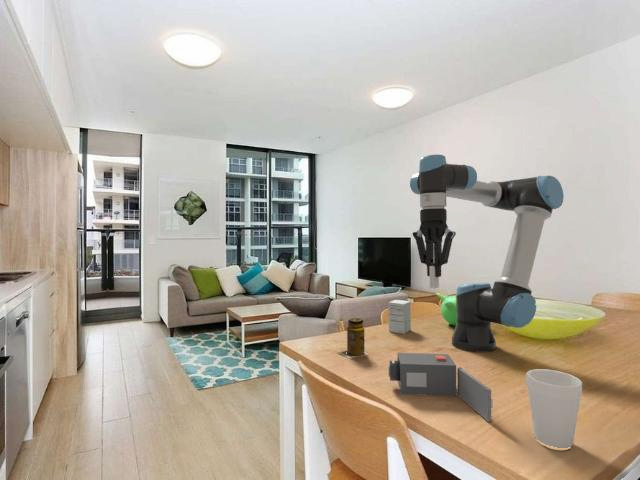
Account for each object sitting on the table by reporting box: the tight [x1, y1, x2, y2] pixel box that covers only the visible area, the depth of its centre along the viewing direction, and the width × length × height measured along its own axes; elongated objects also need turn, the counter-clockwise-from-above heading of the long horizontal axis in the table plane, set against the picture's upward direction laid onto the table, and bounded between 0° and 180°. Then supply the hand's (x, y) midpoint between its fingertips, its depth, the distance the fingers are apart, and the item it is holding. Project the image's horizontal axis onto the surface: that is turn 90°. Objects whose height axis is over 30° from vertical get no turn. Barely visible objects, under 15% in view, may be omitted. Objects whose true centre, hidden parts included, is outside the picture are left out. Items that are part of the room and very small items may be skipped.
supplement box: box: [388, 299, 412, 335], centre depth 159 cm, size 7×7×13 cm
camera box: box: [388, 352, 457, 397], centre depth 101 cm, size 17×9×9 cm, turn 84°
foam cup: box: [525, 368, 583, 448], centre depth 74 cm, size 10×9×13 cm
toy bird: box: [435, 292, 457, 327], centre depth 167 cm, size 18×17×15 cm
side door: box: [457, 367, 494, 422], centre depth 89 cm, size 14×2×7 cm, turn 7°
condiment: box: [337, 317, 370, 359], centre depth 130 cm, size 7×8×12 cm
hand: (434, 287), depth 111 cm, fingers closed
